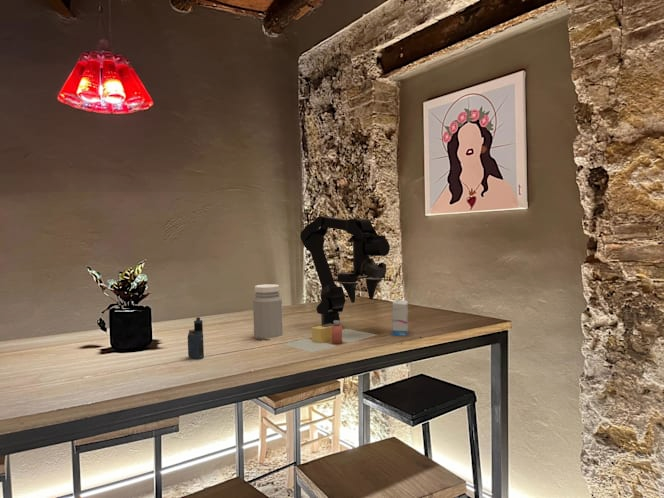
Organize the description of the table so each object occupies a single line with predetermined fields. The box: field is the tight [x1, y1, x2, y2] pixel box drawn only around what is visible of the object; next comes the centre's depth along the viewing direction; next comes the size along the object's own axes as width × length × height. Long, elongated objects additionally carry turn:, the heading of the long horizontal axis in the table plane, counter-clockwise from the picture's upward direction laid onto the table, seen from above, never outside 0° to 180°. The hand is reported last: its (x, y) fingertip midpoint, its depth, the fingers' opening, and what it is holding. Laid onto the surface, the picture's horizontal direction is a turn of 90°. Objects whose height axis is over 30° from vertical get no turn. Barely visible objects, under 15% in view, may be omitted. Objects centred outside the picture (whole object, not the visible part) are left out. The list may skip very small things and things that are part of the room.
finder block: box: [311, 324, 334, 343], centre depth 155 cm, size 4×8×5 cm, turn 134°
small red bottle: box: [332, 320, 343, 345], centre depth 151 cm, size 3×3×7 cm
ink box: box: [392, 299, 409, 337], centre depth 163 cm, size 9×5×12 cm, turn 168°
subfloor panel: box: [280, 328, 377, 353], centre depth 156 cm, size 14×30×1 cm, turn 134°
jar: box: [252, 283, 283, 341], centre depth 165 cm, size 10×10×18 cm
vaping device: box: [187, 316, 205, 360], centre depth 141 cm, size 3×5×12 cm, turn 58°
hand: (362, 300), depth 165 cm, fingers open, 9 cm apart
